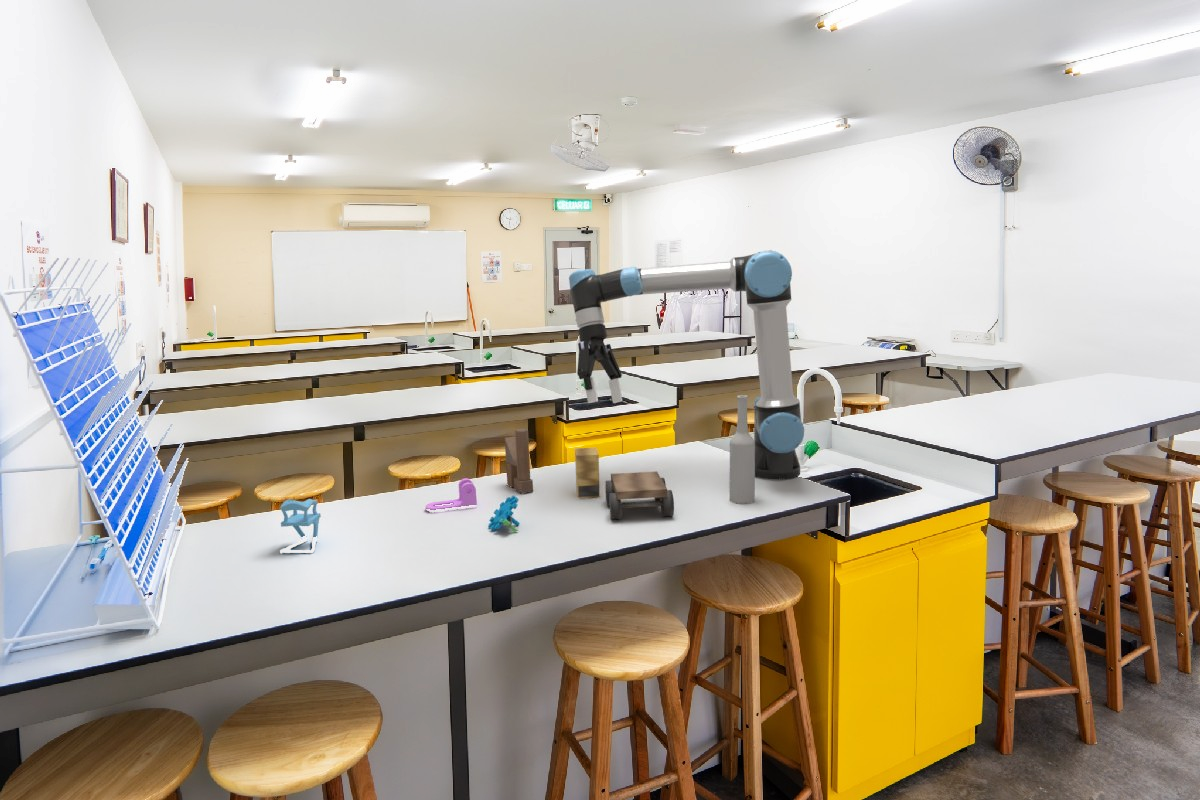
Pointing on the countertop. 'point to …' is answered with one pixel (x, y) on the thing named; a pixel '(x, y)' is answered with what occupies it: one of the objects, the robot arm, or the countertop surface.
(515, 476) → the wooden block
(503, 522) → the gear
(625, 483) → the trolley
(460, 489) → the bracket
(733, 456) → the bottle
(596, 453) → the block
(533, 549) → the countertop surface
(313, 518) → the chair
